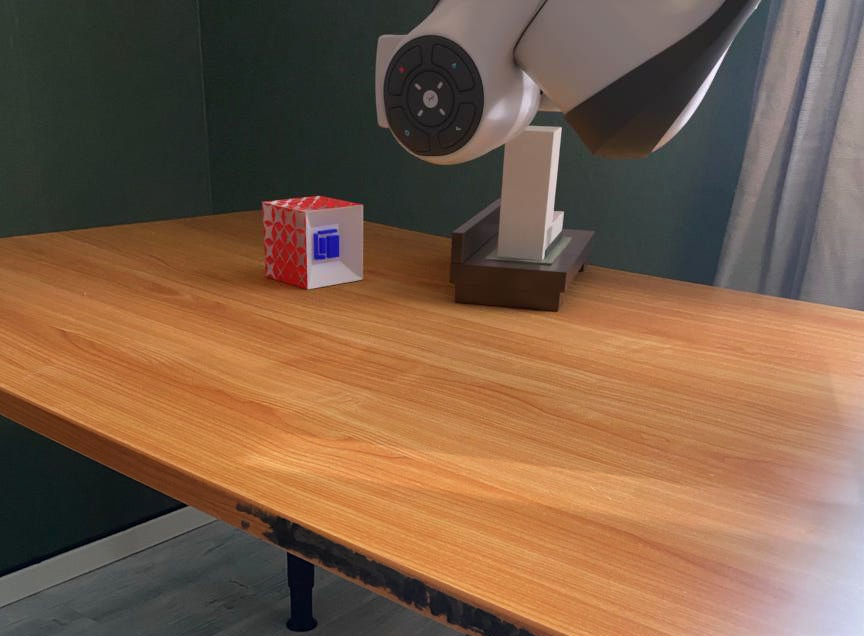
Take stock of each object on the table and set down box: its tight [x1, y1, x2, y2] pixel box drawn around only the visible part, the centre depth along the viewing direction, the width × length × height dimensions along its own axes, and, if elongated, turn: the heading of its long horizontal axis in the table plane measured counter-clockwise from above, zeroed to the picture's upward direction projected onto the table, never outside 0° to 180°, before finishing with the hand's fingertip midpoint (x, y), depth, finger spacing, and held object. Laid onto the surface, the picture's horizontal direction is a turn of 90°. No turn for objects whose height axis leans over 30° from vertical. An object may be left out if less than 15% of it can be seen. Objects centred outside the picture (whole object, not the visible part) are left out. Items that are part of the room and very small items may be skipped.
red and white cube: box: [261, 195, 364, 290], centre depth 111 cm, size 8×8×8 cm
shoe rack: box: [449, 197, 596, 312], centre depth 111 cm, size 12×24×7 cm, turn 163°
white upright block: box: [497, 125, 565, 260], centre depth 106 cm, size 14×5×12 cm, turn 163°
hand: (517, 76), depth 87 cm, fingers open, 8 cm apart
